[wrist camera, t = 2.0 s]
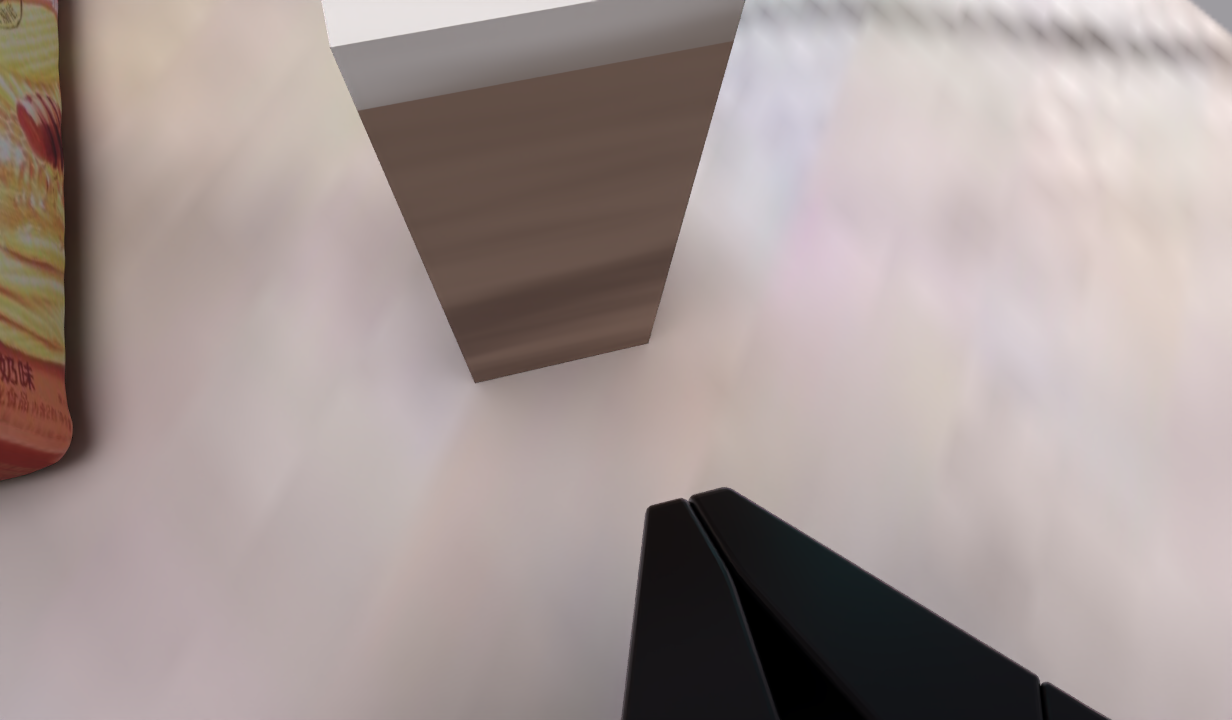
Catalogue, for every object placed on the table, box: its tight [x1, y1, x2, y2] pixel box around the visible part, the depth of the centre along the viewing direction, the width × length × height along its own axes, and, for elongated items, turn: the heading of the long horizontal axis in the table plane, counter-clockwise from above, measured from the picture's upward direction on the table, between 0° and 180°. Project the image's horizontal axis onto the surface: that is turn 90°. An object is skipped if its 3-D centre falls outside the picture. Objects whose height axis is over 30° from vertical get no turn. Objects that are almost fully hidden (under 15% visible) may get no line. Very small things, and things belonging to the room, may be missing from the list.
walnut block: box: [321, 0, 745, 383], centre depth 17 cm, size 5×5×14 cm
